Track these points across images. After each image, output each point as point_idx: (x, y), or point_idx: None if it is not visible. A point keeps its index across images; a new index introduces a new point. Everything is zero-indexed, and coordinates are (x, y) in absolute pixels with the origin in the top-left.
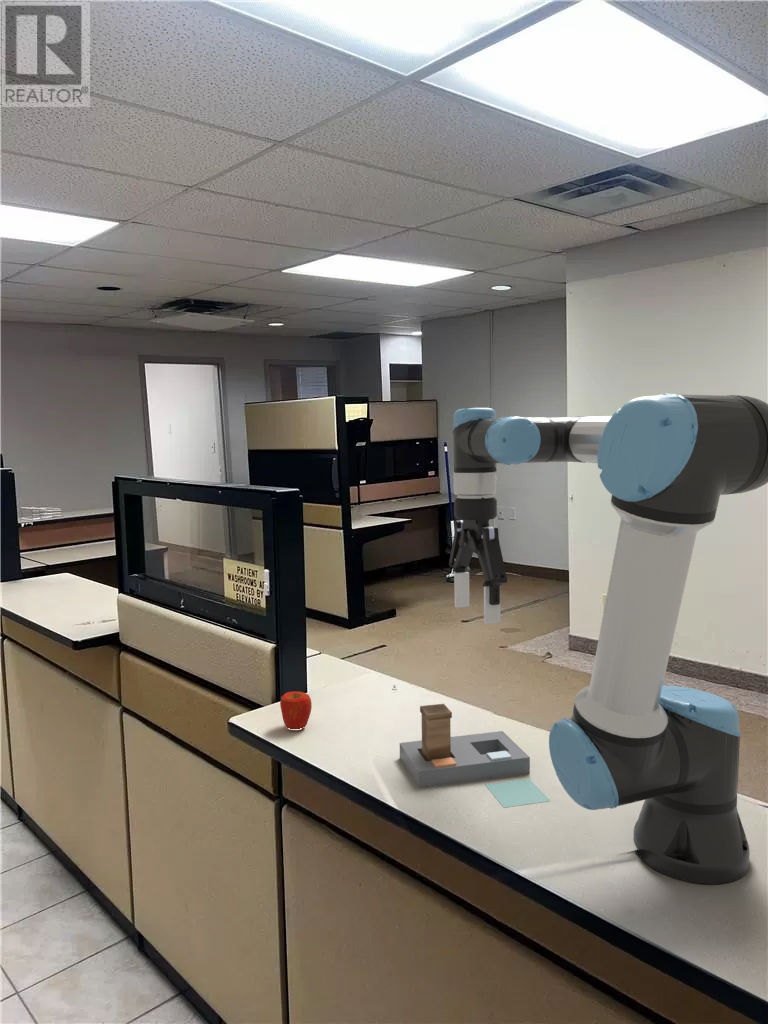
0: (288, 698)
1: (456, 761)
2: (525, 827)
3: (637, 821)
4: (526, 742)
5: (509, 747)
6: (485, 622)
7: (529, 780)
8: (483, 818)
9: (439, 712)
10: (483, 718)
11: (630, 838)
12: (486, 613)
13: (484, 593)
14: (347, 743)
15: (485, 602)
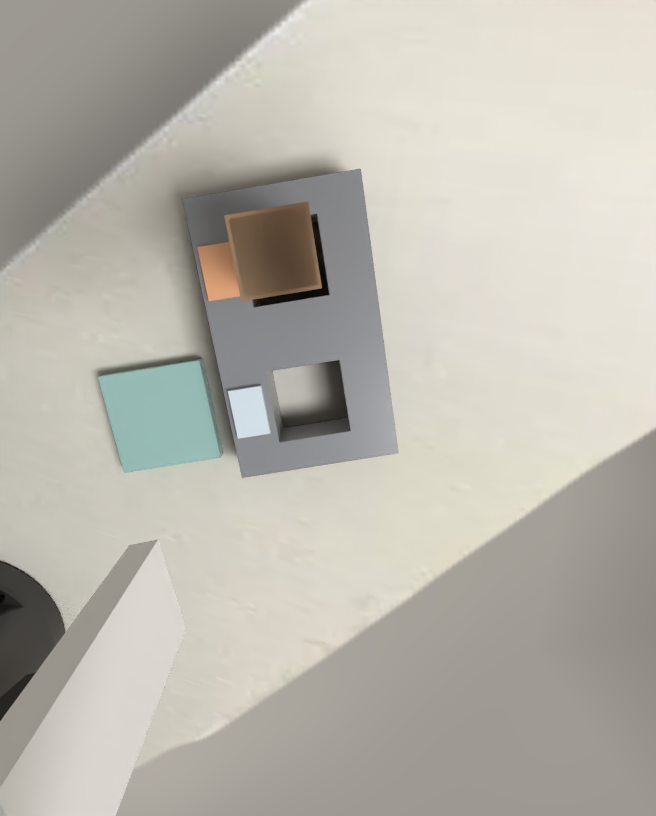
0: None
1: (232, 305)
2: (58, 403)
3: (3, 591)
4: (430, 499)
5: (299, 446)
6: (131, 548)
7: (212, 455)
8: (91, 331)
9: (242, 260)
10: (589, 436)
11: (24, 564)
12: (98, 591)
13: (36, 708)
14: (506, 41)
15: (63, 645)
